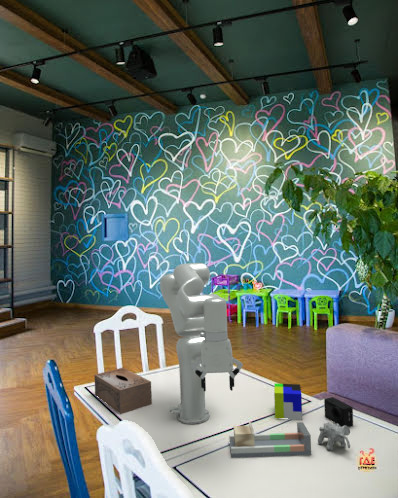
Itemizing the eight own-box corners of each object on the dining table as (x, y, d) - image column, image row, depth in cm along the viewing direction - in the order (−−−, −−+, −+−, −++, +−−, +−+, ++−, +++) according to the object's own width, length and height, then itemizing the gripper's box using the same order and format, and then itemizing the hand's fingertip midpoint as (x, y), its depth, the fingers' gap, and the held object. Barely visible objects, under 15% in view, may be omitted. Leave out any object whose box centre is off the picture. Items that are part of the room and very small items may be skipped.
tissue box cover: (95, 396, 177) (94, 374, 177) (124, 388, 186) (123, 367, 186) (120, 414, 156) (120, 390, 156) (151, 404, 165) (151, 381, 165)
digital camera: (321, 417, 148) (321, 399, 147) (333, 414, 150) (332, 396, 149) (341, 429, 138) (340, 409, 138) (353, 426, 140) (352, 406, 140)
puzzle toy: (302, 420, 146) (301, 394, 145) (275, 419, 148) (274, 393, 147) (300, 409, 155) (300, 384, 155) (275, 408, 157) (274, 383, 157)
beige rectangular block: (236, 452, 122) (235, 434, 122) (233, 438, 131) (233, 422, 131) (255, 451, 122) (254, 434, 122) (251, 438, 131) (251, 421, 131)
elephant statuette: (330, 437, 133) (328, 415, 133) (363, 449, 123) (361, 425, 124) (313, 447, 127) (311, 424, 127) (347, 460, 118) (344, 435, 118)
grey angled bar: (304, 451, 122) (304, 435, 122) (297, 437, 131) (297, 422, 131) (311, 451, 122) (310, 435, 122) (303, 436, 131) (303, 422, 131)
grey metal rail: (231, 457, 122) (231, 448, 122) (229, 442, 131) (229, 434, 131) (311, 454, 122) (310, 446, 122) (303, 440, 131) (303, 432, 131)
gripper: (188, 339, 122) (190, 395, 122) (244, 337, 122) (246, 393, 122) (189, 334, 130) (191, 386, 130) (241, 332, 130) (243, 384, 130)
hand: (217, 389), depth 126 cm, fingers open, 8 cm apart
